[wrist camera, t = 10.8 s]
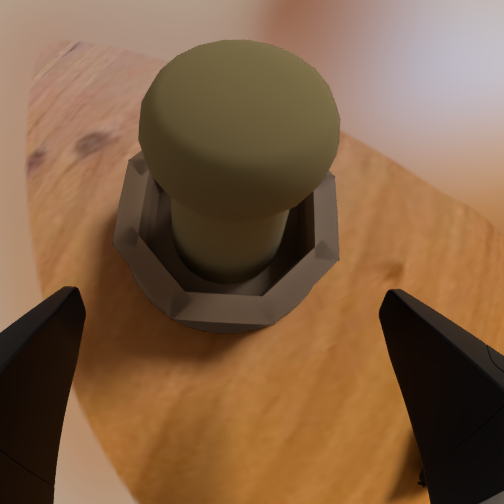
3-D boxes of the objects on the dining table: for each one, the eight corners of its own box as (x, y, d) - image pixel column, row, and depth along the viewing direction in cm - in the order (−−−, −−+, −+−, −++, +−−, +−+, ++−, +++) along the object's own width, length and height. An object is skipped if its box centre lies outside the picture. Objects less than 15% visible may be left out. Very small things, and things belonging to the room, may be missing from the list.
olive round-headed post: (209, 306, 15) (189, 274, 4) (153, 213, 16) (79, 65, 5) (302, 246, 16) (421, 134, 6) (243, 163, 17) (274, 0, 7)
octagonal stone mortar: (323, 335, 16) (350, 337, 13) (117, 323, 15) (92, 323, 11) (319, 154, 19) (338, 123, 15) (145, 140, 18) (134, 105, 14)
